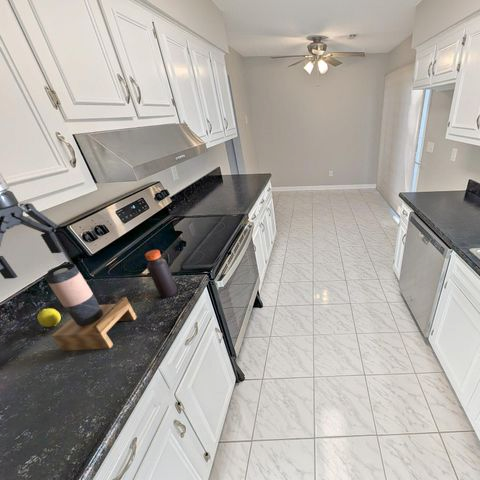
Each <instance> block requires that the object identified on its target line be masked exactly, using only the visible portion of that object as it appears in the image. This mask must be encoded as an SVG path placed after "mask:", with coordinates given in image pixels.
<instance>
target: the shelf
mask: <svg viewBox="0 0 480 480" xmlns="http://www.w3.org/2000/svg"><path fill="white" fill-rule="evenodd" d="M99 306H100V308H101V310H102V312H103V315H102V317H101V318H100V319H99V320H97V321H96V322H94V323H92V324H89V325H86V326H78V325H77V324H76V322H75V321H74V320H73V318H72V317H71V319H70V320H68V321H67V322H66V323H65V324H63V325H62V326H61V327H60V328H59V329H58V330H56V331H55V332H54V333H53V334H52V335H51V337H52V338H53V339H54V341H55V342H56V344H57V345H58V346H59V347H60V348H61V350H62V351H64V352H65V351H82V350H83V351H84V350H101V349H102V350H103V349H104V350H105V349H111V348H112V347H113V346H114V343H113V342H112V340H111V339H110V337H109V335H108V334H107V333H108V332H109V330H110V329H111V328H112V327H113V326H115V324H116V323H117V322H129V321H135V320H137V314H136V313H135V311H134V309H133V307H132V305H131V303H130V301H129V300H128V298H127V296H123V297H121V298H120V299H119V300H118V301H117V302H116V303H110V304H99Z"/></svg>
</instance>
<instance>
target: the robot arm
mask: <svg viewBox="0 0 480 480" xmlns="http://www.w3.org/2000/svg"><path fill="white" fill-rule="evenodd" d="M9 189H10V186H9V185H8V183H7V181H6V180H5V178H4V177H3V175H2V173H1V172H0V247H2V245H1V244H2V241H3V238H4V234H6V232H7V230H9V229H12V228H14V227H16V226H20V225H23V226H25V227H28V228H30V229H33V230H35V231H38V232H40V233H41V234H40V236H41V238H42V240H43V241H44V243H45V245H46V247H47V248H48V250H50V253H51V254H61V253H63V250H62V248H61V247H60V244H59V243H58V242H59V241H58V238H57V236H56V234H55V233H57V229H58V227H59V226H58V224H57V223H56V222H54V221H53V220H51V219H50V218H48V217H47V216H46V215H44V214H43V213H41V211H39V210H38V209H37V208H36V207H35V205H34V204H33V203H31V202H27V203H25V202H24V203H20V204H19V200H18V199H17V197H16V196H15V194H14V192H13V191H11V190H9ZM24 213H25V214H26V215H28V216H29V217H28V216H25V215H24ZM30 217H31V218H30ZM0 274H1V276H2V277H3V278H4V280H9V279H10V280H11V279H16V278H18V277H19V276H18V274H16V272H15V271H14V269H13V267H11V265H10V264H9V263H8V261H7V260H6V258H5V257H4V256H3V255H0Z"/></svg>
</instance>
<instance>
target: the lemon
mask: <svg viewBox="0 0 480 480" xmlns="http://www.w3.org/2000/svg"><path fill="white" fill-rule="evenodd" d="M61 317H62V316H61V313H60V312H59V311H58V310H56V309H55V308H43V309H41V311H39V313H38V314H37V321H38V323H39V325H41V326H43V327H47V328H51V327H56V326H57V325H58V324H59V323H60V321H61Z"/></svg>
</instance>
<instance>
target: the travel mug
mask: <svg viewBox="0 0 480 480" xmlns="http://www.w3.org/2000/svg"><path fill="white" fill-rule="evenodd" d="M43 278H44V279H45V281H46V282H47V284H48V285H49V287H50V289H51V290H52V292H53V293H54V295H55V296H56V297H57V299H58V300H59V302H60V304H61V305H62V306H63V308H64V310H65V311H66V312H67V313H68V315H69V316H70V317H71V319H72V318H73V320H74V321H75V322H76V324H77V325H78V326H86V325H89V324H92V323H94V322H96V321H97V320H99V319H100V318H101V317H102V315H103V312H102V310H101V308H100V306H99V305H100V304H99V302H98V300H97V299H96V296H95V295H94V293H93V291H92V290H91V287H90V286H89V284H88V283H87V280H86V279H85V278H84V276H83V275H82V273H81V272H80V270H79V268H78V267H77V265H76V264H75V263H65V264H61V265H57V266H55V267H53V268H50V269H49V270H47V273H46V274H45V275H44V274H43Z"/></svg>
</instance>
